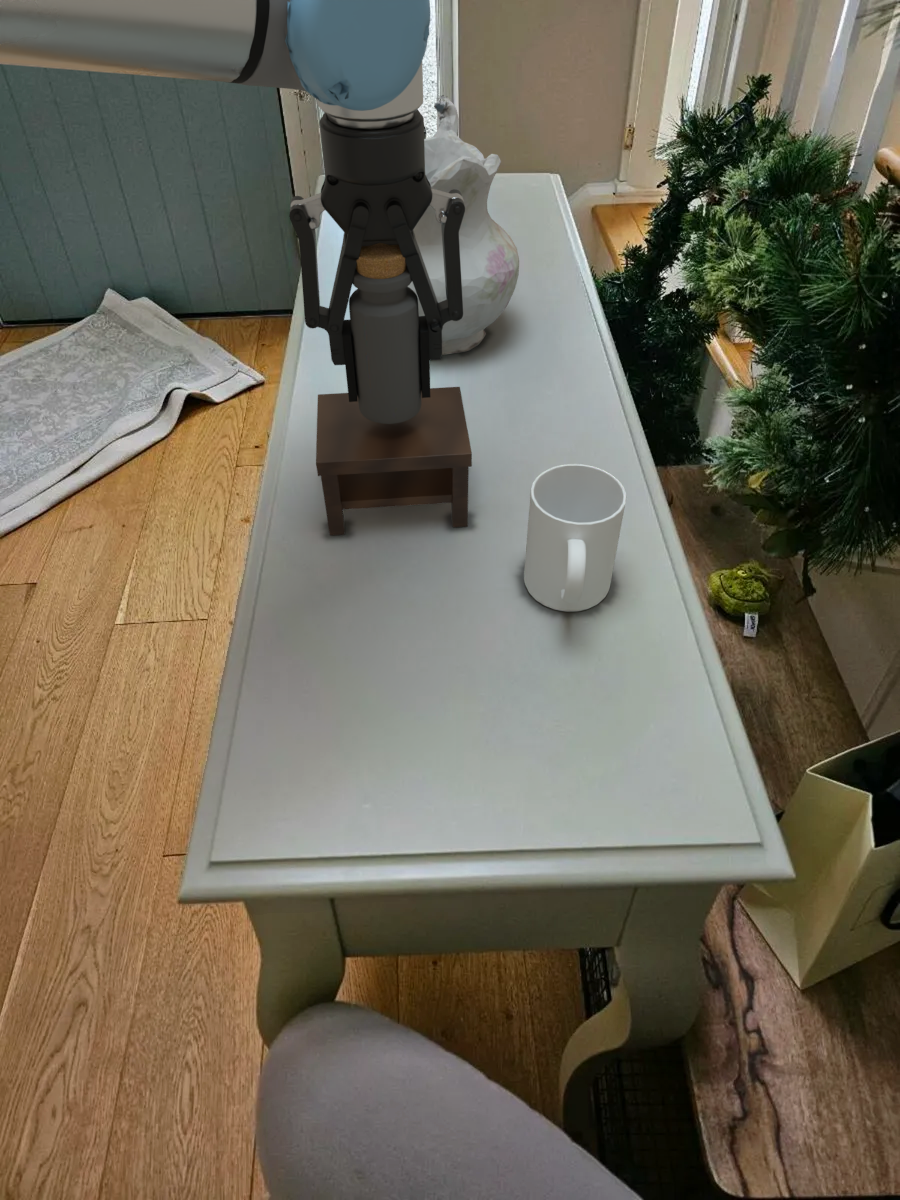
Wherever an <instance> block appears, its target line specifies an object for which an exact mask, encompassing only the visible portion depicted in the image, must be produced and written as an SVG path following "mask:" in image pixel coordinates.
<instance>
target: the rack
mask: <svg viewBox="0 0 900 1200" xmlns="http://www.w3.org/2000/svg"><path fill="white" fill-rule="evenodd" d="M316 404H317V406H316V407H317V408H316V409H317V410H316V441H315V442H316V444H315V445H316V448H315V452H316V453H315V466H316V473H317V476H318V477H320V478H321V479H320V480H321V484H322V493H323V500H324V506H325V514H326V521H327V527H328V535H329V536H343V535H345V534H346V525H345V524H346V523H345V522H346V521H345V515H344V510H361V509H376V508H377V509H378V508H392V507H407V506H408V507H409V506H424V505H439V504H440V505H441V504H451V505H450V514H451V516H450V518H451V526H452V528H466V527H468V526H469V468H472V466H473V464H472V463H473V452H472V447H471V441H470V437H469V436H470V435H469V429H468V424H467V418H466V413H465V408H464V402H463V397H462V392H461V386H447V387H432V388H431V387H430V397H429V398H422V392H421V409H420V411H419V412H418V413H417V415H416V416H414V417H413V418H411V419H409V420H407V421H404V422H400V423H395V424H381V423H377V422H373V421H371V420H369V419H367V418H365V417H364V416H363V415H362V414H361V412H360V410H359V405H358V396H357V401H356V402H349V396H348V392H341V393H339V392H338V393H322V394H319V393H318V394H317V403H316Z"/></svg>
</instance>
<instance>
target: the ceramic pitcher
mask: <svg viewBox="0 0 900 1200" xmlns="http://www.w3.org/2000/svg"><path fill="white" fill-rule="evenodd" d="M433 108H434V109H435V110H436V117H437V118H436V132H435V133H434V134H433V136H430V137H427V138H424V148H425V174H426V177H427V179H428V181H429V183H430V185H431V188H432V189H436V190H440V191H444V192H447V193H449V192H450V191H451V190H453V189H457V190H459V191H460V192H461V194H462V198H463V201H464V205H465V213H464V216H463V220H462V223H461V227H460V230H459V246H460V264H461V282H462V300H463V317H462V319H460V320H459V321H453V320H451V321H448V322H446V323H445V324H444V325H443V329H442V356H445V355H451V354H458V353H459V354H460V353H466V352H469V351H471V350H473V349H474V348H476V347H477V346H479V345H480V344H481V342H483V340H484V338H485V337H486V335H487V332H486V330H485V329H486V328H487V327H489V326H490V325H492V324H493V323H494V322H495V321H496V320H497V319H498V318H499V317H500V316H501V315H502V313H503V312H504V310H505V309H506V308H507V307H508V305H509V303H510V301H511V299H512V297H513V295H514V292H515V290H516V287H517V283H518V279H519V273H520V256H519V252H518V247H517V245H516V244H515V242H514V240H513V239H512V237H511V236H510V235H509V233H508V232H507V231H506V230H505V229H504V228H503V227H502V226H501V225H500V224H499V223H497V221H495V220H494V219H493V218H492V217H491V215H490V213H489V211H488V200H489V199H488V197H489V193H490V190H491V186H492V183H493V180H494V179H495V176H496V175H497V173H498V171H499V170H500V166H501V164H502V160H501V158H500V156H499V154H496V153H490V154H489V155H488V156H487V157H486V158H485V156H484V154H483V153H482V152H481V151H480V150H479V149H478V148H477V147H476V146H475V145H473V144H471V143H468V142H466V141H464V140H463V139H462V138H460V137H459V129H460V127H459V126H460V118H459V115H458V111H457V107H456V106H455V104H454V103H453V102H452V101H451V97H448V95H446V96H445V95H444V94H442V95H440V96H437V99H436V102H434V104H433ZM413 231H414V234H415V237H416V241H417V244H418V247H419V249H420V252H421V255H422V258H423V261H424V264H425V267H426V270H427V272H428V275H429V278H430V281H431V284H432V287H433V290H434V293H435V295H436V298H437V301H438V303H439V302H442V301H444V300H446V286H445V272H444V258H443V244H442V230H441V223H439V222H438V221H437V220H436V217H435V210H434V208H433V207H431V206H429V207H428V208H427V210H426V211H425V213H424V214H423V216H422V217H421V219H420V220H419V222H418V223H417V225H416V226H415V228H414V229H413ZM408 287H409V288H411V289H412V290H413V291H414V292H415V293H416V290H415V287H414V284H413V282H411V284H410V285H409V286H408ZM416 295H417V293H416ZM417 297H418V295H417ZM418 309H419V316H425V315H424V312H423V309H422V306H421V304H420V301H419V298H418Z"/></svg>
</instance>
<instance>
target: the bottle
mask: <svg viewBox="0 0 900 1200" xmlns="http://www.w3.org/2000/svg"><path fill="white" fill-rule="evenodd" d="M411 282H412V279H411V276H410V273H409V271H408V268H407V265H406V262H405V257H403V256H402V253H401V251H400V248H399V245H387V244H382V243H378V244H375V245H372V246H362V247H361V251H360V256H359V259H358V260H357V265H356V270H355V274H354V279H353V283H352V286H353V287H355V288H356V289H355V290H354V291H353V292H351V293H352V294H350V296H349V300H348V310H349V311H348V312H349V320H350V323H351V334H352V345H353V355H354V366H355V376H356V386H357V396H358V405H359V410H360V412H361V414H362V415H363V416H364V417H365V418H367V419H369V420H371V421H373V422H377V423H381V424H395V423H400V422H404V421H407V420H409V419H411V418H413V417H414V416H416V415H417V413H418V412H419V411H420V409H421V367H420V335H419V309H418V297H417V295H416V293H415V292H414V291H413V290H412V289H411V288H409V287H408V286H409V285H410V284H411Z"/></svg>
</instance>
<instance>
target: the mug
mask: <svg viewBox="0 0 900 1200" xmlns="http://www.w3.org/2000/svg"><path fill="white" fill-rule="evenodd" d="M626 502H627V493H626V489H625V487H624V485H623V484H622V482H621V481H620V480H619V479H618V478H617V477H615V476H614V475H613V474H612V473H610V472H609V471H606V470H604V469H603V468H599V467H596V466H593V465H589V464H583V463H565V464H561V465H555V466H552V467H550V468H548V469H545V470H543V472H541V473H539V474H538V475H537V476H536V478H535V479H534V480H533V482H532V484H531V487H530V494H529V507H528V518H527V519H528V520H527V531H526V543H525V557H524V569H523V580H524V581H523V583H524V585H525V587H526V589H527V591H528V593H529V594H530V596H532V598H533V599H534V600H535V601H536V602H538V603H540V604H541V605H543V606H545V607H547V608H550V609H552V610H555V611H560V612H581V611H585V610H589V609H591V608H593V607H595V606H597V605H598V604H599V603H600V602H602V601H603V600H604V599H605V598H606V596H607V595H608V593H609V591H610V589H611V583H612V578H613V573H614V567H615V561H616V558H617V557H616V555H617V552H618V551H617V550H618V546H619V542H620V541H619V540H620V535H621V530H622V524H623V519H624V513H625V508H626Z"/></svg>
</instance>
